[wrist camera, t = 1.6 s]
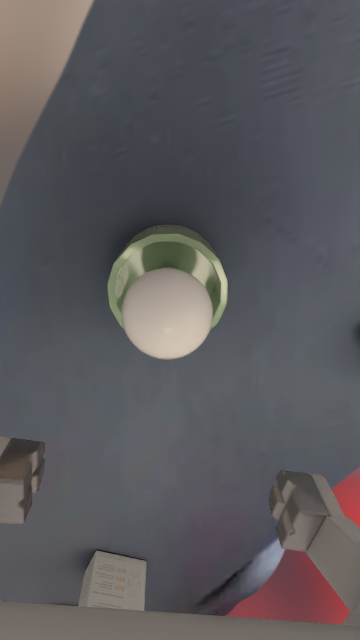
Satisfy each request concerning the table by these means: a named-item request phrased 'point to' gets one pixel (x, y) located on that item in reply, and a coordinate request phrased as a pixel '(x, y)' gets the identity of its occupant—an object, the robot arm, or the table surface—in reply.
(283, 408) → the table surface
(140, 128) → the table surface
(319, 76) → the table surface
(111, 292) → the green round bowl
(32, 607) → the robot arm
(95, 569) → the small box
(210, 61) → the table surface
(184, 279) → the lightbulb
